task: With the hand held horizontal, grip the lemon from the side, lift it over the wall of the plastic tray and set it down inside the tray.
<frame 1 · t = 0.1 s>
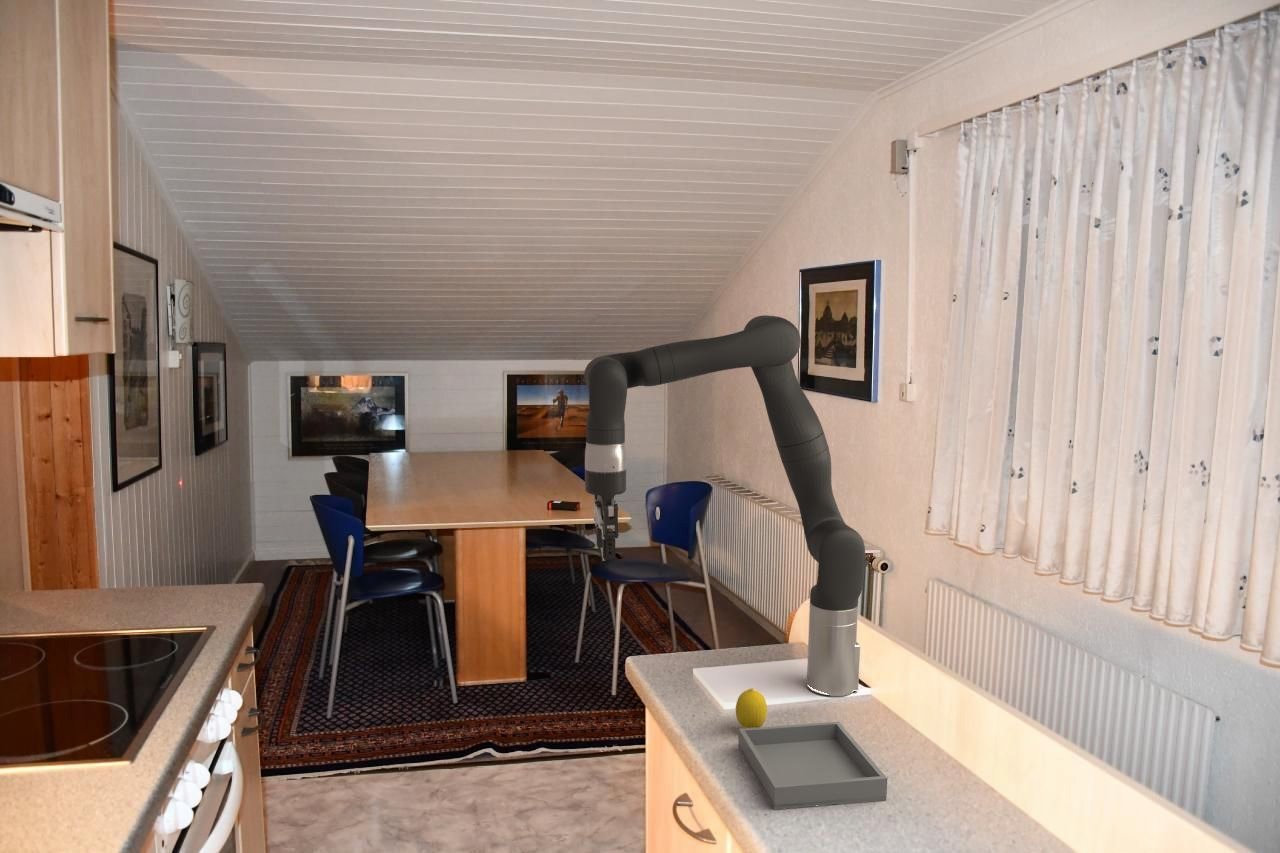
hand: (605, 553, 182), 29 cm above the kitchen counter, tool pointing down, fingers open, 8 cm apart
tray: (808, 773, 160), on the kitchen counter
lemon: (750, 732, 175), on the kitchen counter
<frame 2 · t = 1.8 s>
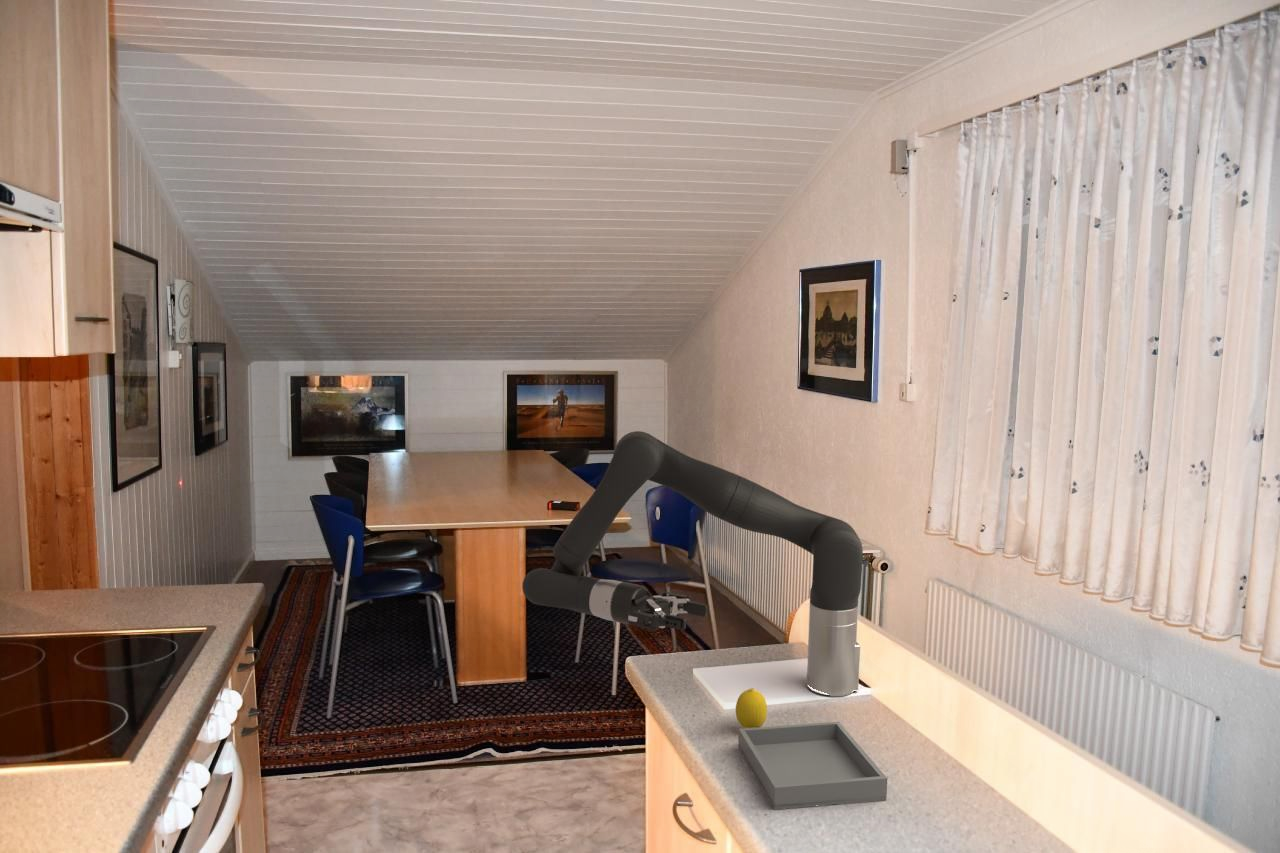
hand: (696, 617, 178), 19 cm above the kitchen counter, tool horizontal, fingers open, 8 cm apart
nothing on the kitchen counter moved.
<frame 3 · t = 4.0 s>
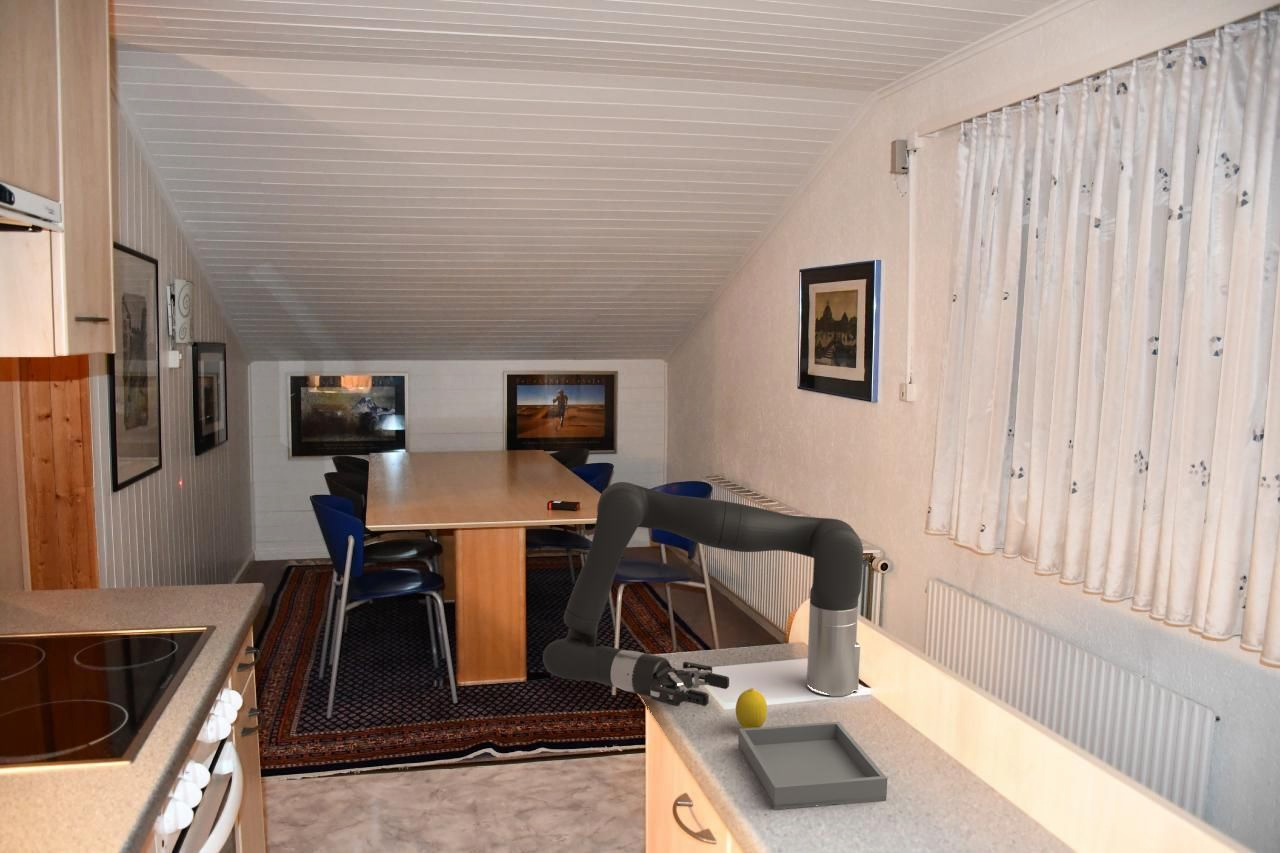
hand: (718, 691, 178), 6 cm above the kitchen counter, tool horizontal, fingers open, 8 cm apart
nothing on the kitchen counter moved.
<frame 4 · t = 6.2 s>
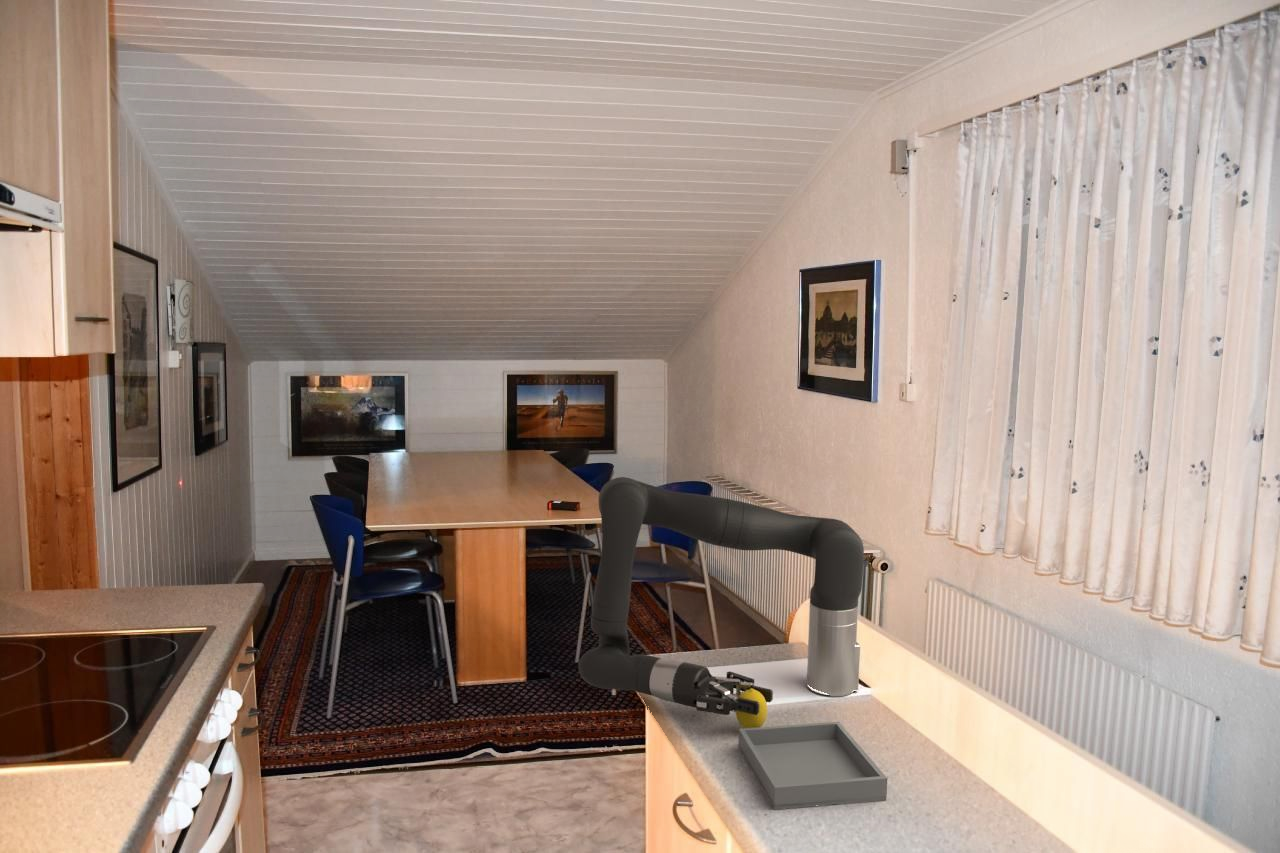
hand: (765, 702, 173), 6 cm above the kitchen counter, tool horizontal, fingers closed on lemon, 5 cm apart
lemon: (750, 732, 175), on the kitchen counter, touching gripper
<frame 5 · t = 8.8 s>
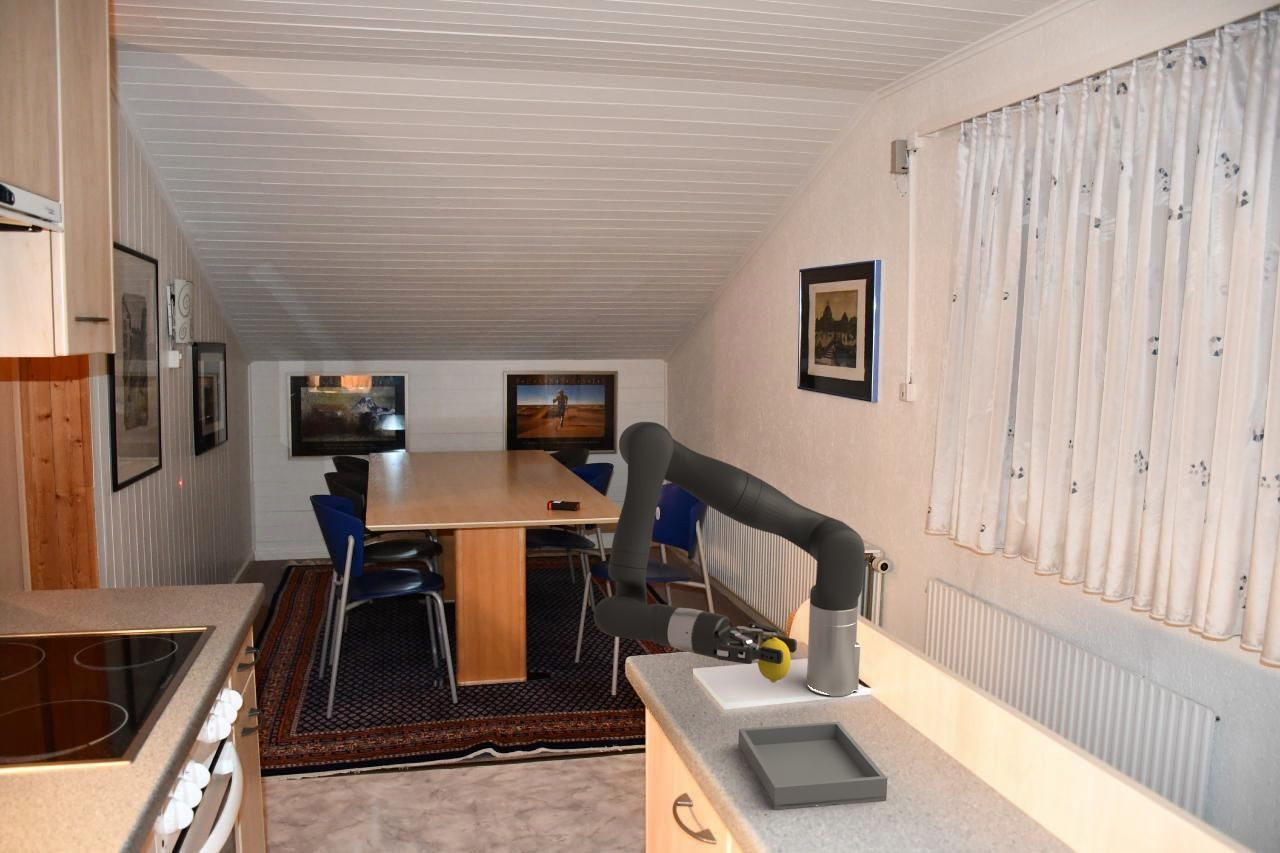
hand: (788, 651, 165), 18 cm above the kitchen counter, tool horizontal, fingers closed on lemon, 5 cm apart
lemon: (773, 683, 168), point 11 cm above the kitchen counter, touching gripper
when the fingers open (8 cm above the kitchen counter, at t = 11.8 s): lemon drops 1 cm, resting on tray.
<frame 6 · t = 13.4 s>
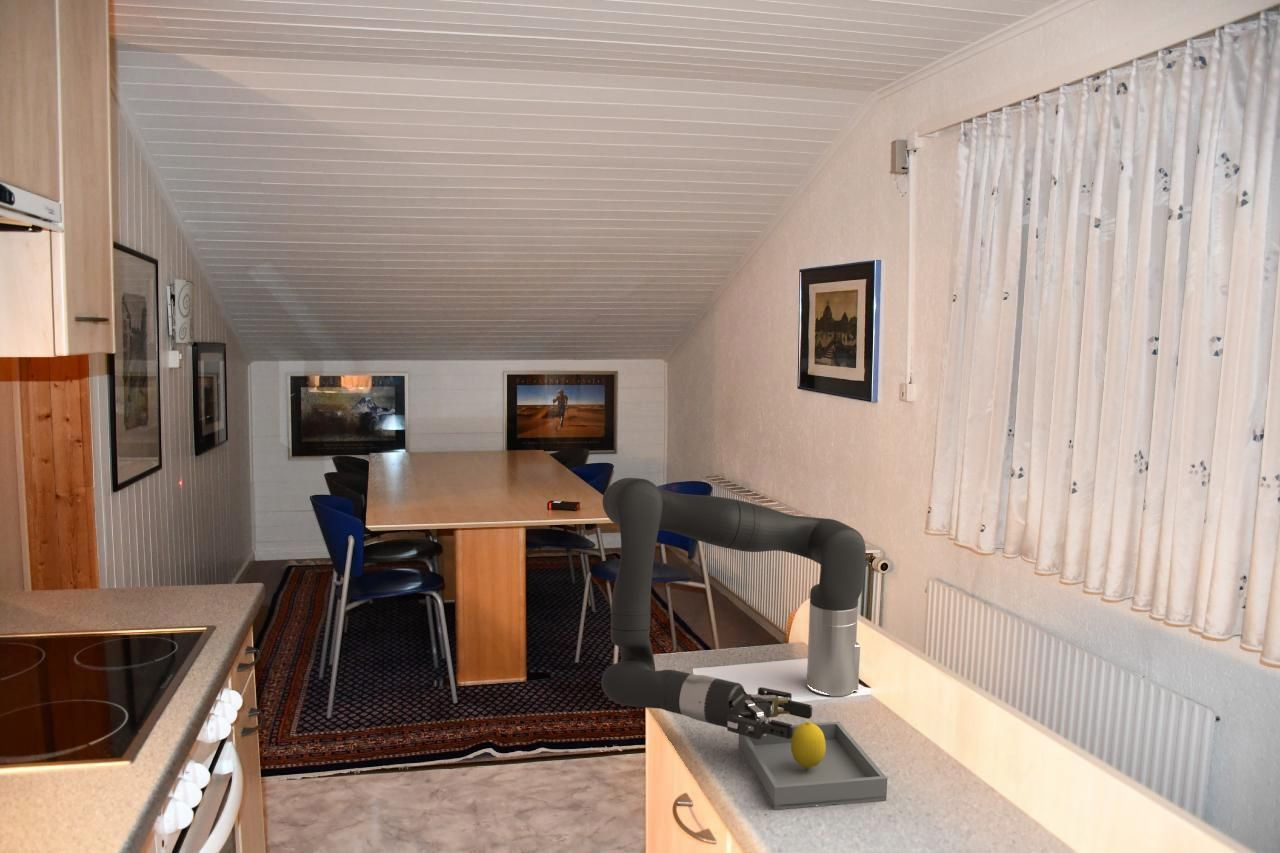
hand: (802, 722, 160), 8 cm above the kitchen counter, tool horizontal, fingers open, 8 cm apart
lemon: (807, 770, 160), point 1 cm above the kitchen counter, touching tray
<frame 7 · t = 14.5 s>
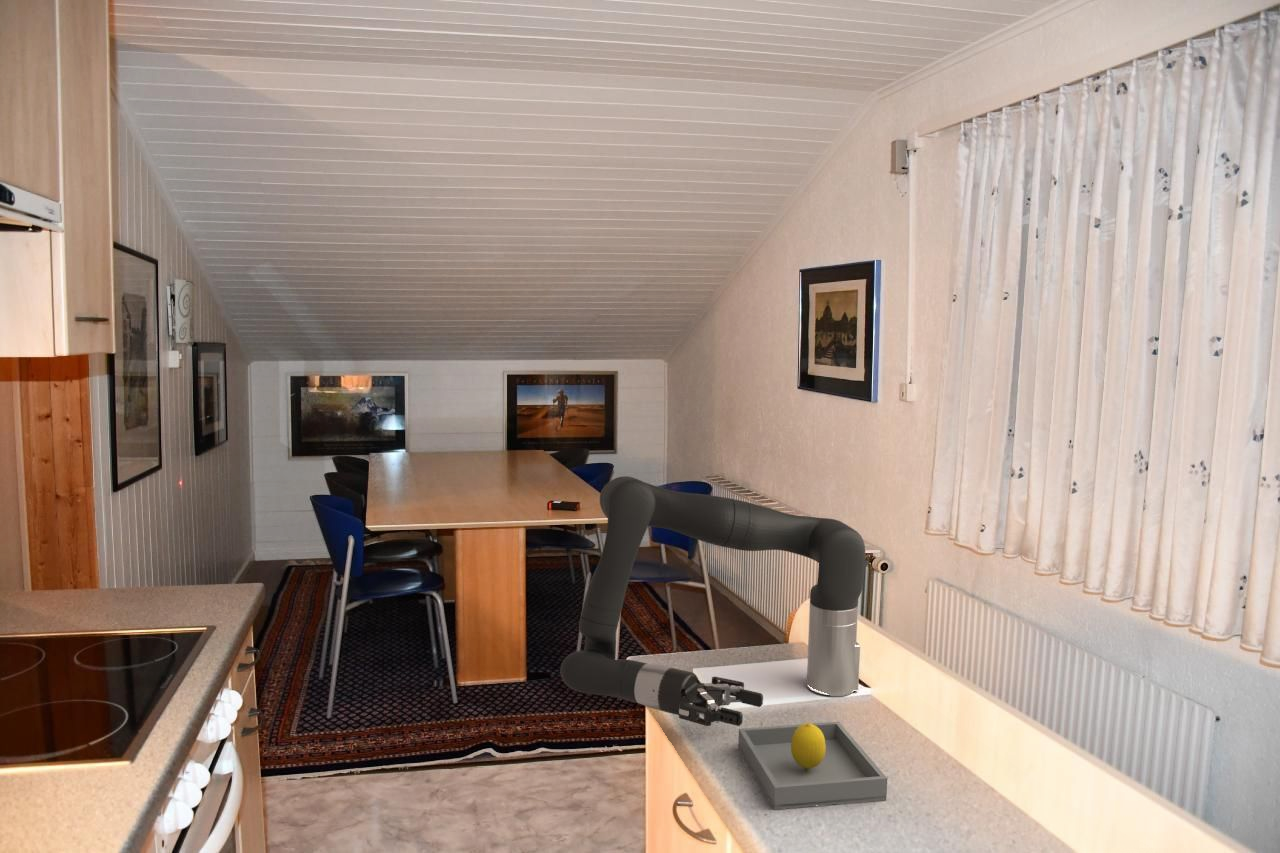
hand: (752, 709, 164), 9 cm above the kitchen counter, tool horizontal, fingers open, 8 cm apart
nothing on the kitchen counter moved.
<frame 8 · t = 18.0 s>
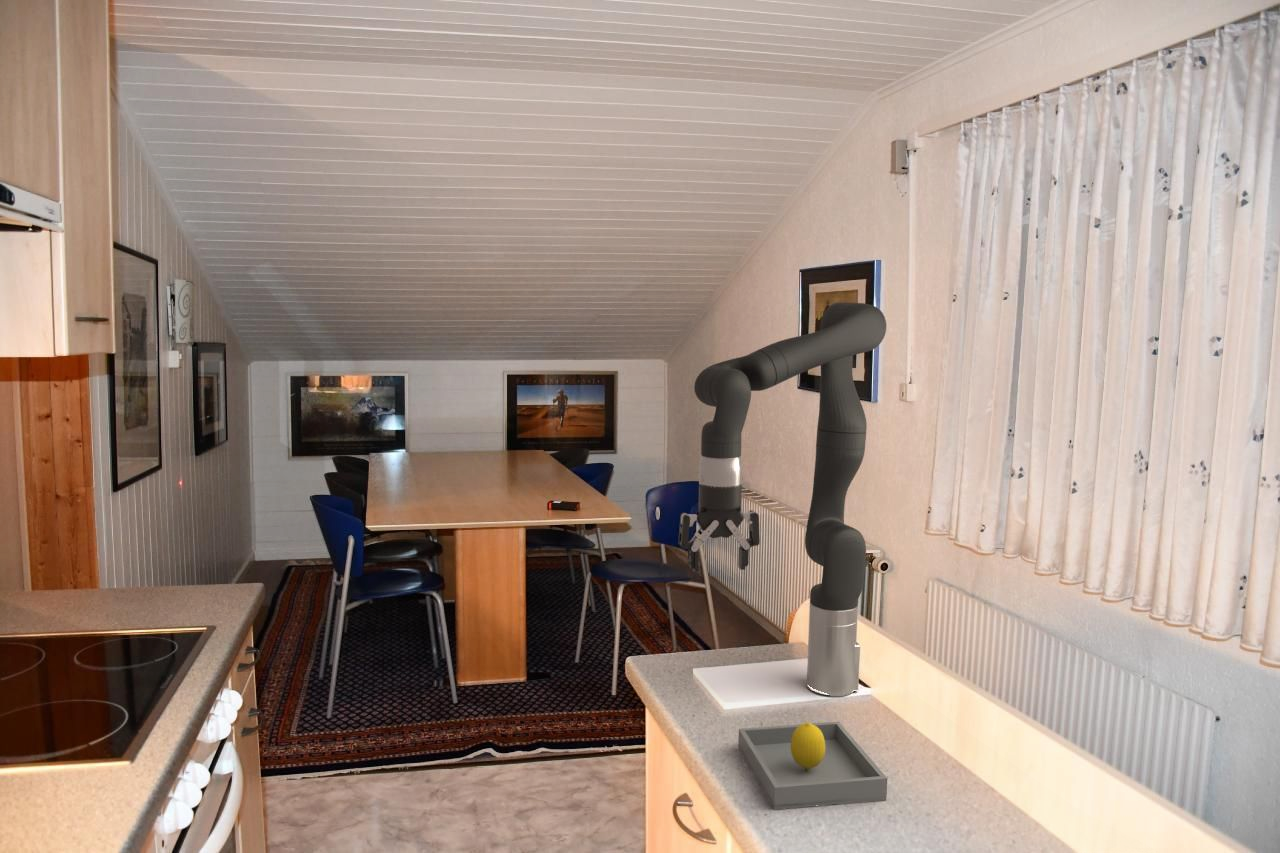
hand: (718, 569, 176), 28 cm above the kitchen counter, tool pointing down, fingers open, 8 cm apart
nothing on the kitchen counter moved.
at the end: lemon inside the target area on the tray (0.5 cm from its centre), point 0.6 cm above the tray's base; the gripper is holding nothing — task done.
